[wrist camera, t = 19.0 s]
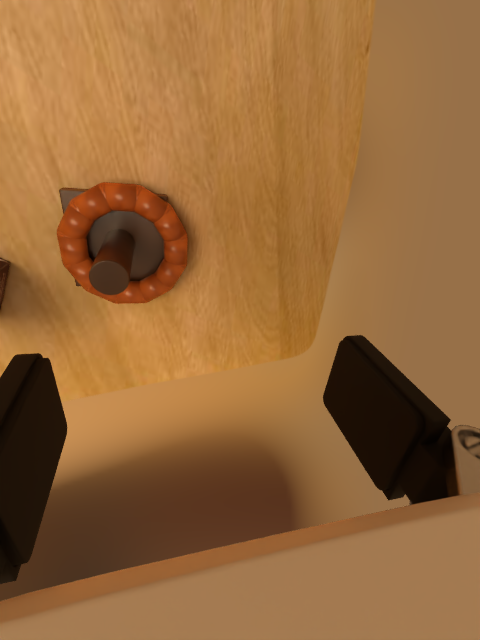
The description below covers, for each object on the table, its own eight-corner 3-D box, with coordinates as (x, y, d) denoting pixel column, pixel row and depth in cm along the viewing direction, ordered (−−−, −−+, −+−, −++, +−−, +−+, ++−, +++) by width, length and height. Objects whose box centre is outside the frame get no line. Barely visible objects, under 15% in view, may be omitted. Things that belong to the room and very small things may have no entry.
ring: (186, 186, 25) (189, 190, 24) (185, 296, 30) (187, 305, 28) (50, 176, 23) (42, 179, 21) (73, 298, 28) (68, 308, 26)
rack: (166, 194, 26) (172, 216, 19) (168, 281, 30) (174, 329, 23) (61, 187, 24) (21, 209, 17) (78, 282, 28) (51, 334, 20)
